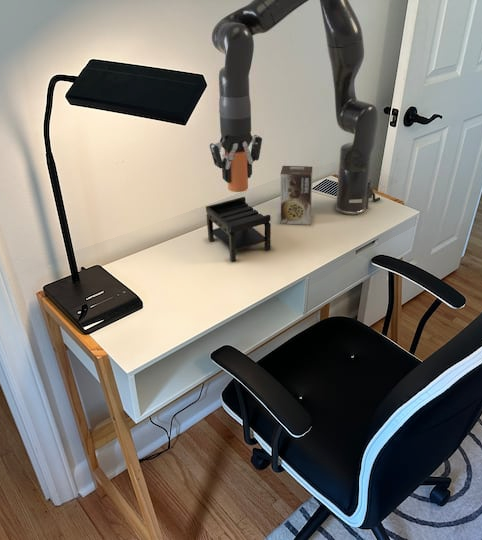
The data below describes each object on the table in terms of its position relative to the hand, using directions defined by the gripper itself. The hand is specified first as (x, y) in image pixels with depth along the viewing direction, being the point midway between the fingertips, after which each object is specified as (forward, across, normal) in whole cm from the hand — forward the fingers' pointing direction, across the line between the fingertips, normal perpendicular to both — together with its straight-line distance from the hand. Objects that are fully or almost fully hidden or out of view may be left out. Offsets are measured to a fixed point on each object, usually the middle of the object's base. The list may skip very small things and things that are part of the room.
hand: (237, 179), depth 132 cm
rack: (+20, 0, 0) cm, 20 cm away
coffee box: (+20, +22, +4) cm, 30 cm away
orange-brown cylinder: (+2, 0, 0) cm, 2 cm away
